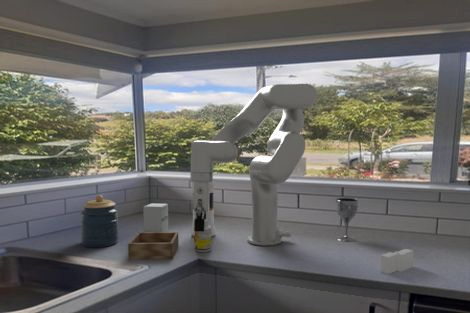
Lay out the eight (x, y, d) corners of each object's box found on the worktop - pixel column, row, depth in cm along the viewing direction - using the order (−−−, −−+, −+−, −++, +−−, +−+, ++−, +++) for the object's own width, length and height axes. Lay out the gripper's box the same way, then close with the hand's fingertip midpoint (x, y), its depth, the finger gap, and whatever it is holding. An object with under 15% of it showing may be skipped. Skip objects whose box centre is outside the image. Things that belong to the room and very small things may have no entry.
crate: (178, 246, 135) (178, 232, 134) (172, 258, 121) (172, 243, 120) (138, 246, 134) (138, 232, 134) (128, 259, 120) (128, 243, 120)
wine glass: (358, 237, 145) (359, 198, 144) (355, 242, 138) (356, 201, 137) (337, 235, 148) (337, 197, 147) (333, 240, 141) (334, 200, 140)
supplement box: (161, 240, 142) (161, 206, 141) (143, 239, 143) (142, 206, 143) (168, 235, 149) (168, 203, 149) (151, 234, 151) (150, 202, 150)
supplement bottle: (196, 247, 133) (196, 218, 132) (212, 247, 132) (212, 218, 132) (193, 252, 127) (193, 222, 127) (209, 252, 127) (209, 222, 126)
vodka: (206, 239, 142) (206, 159, 141) (186, 236, 147) (185, 159, 145) (219, 234, 150) (219, 158, 149) (200, 231, 155) (199, 157, 153)
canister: (87, 238, 145) (86, 192, 144) (122, 237, 146) (121, 192, 145) (76, 248, 132) (74, 198, 131) (114, 247, 133) (113, 197, 132)
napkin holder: (411, 264, 116) (412, 245, 116) (430, 278, 105) (430, 257, 105) (362, 264, 117) (362, 245, 116) (375, 277, 105) (376, 257, 105)
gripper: (211, 180, 120) (210, 234, 120) (213, 175, 137) (212, 222, 138) (187, 179, 120) (186, 233, 120) (192, 174, 137) (191, 222, 137)
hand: (200, 227), depth 129 cm, fingers open, 9 cm apart
